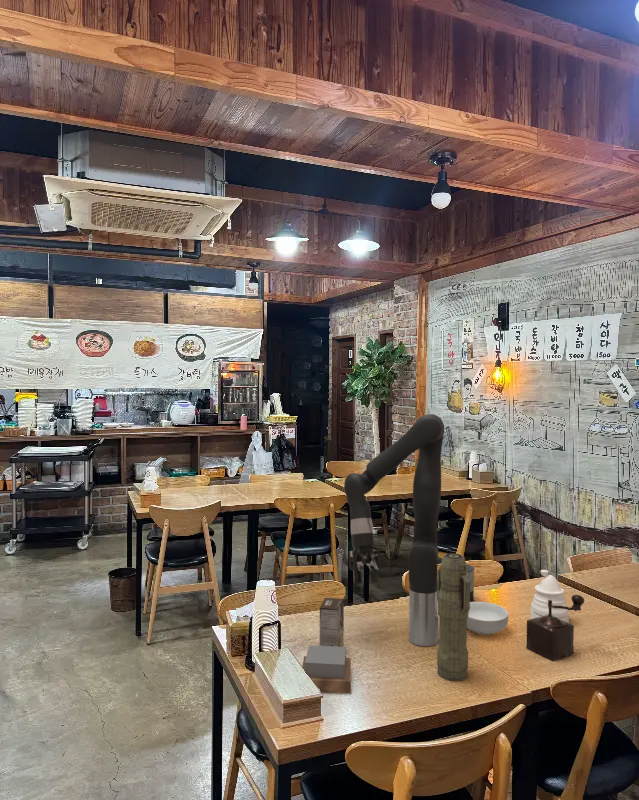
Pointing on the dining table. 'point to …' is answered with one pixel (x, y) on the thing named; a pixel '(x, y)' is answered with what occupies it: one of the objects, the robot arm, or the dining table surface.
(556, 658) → the manual coffee grinder
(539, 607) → the honey pot
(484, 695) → the dining table surface
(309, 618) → the dining table surface
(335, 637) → the coffee box
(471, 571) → the milk frother
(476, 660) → the dining table surface
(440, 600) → the thermos
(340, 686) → the walnut base block
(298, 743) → the dining table surface
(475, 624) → the cereal bowl
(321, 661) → the grey square block
